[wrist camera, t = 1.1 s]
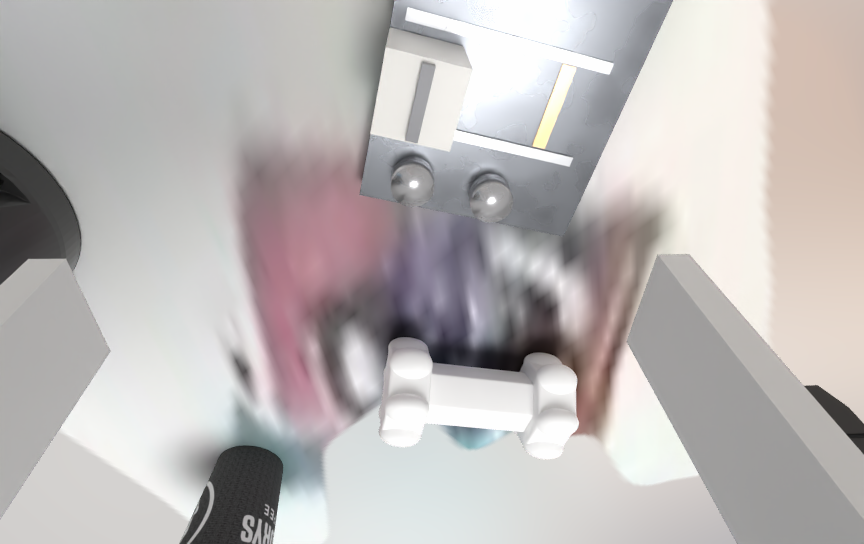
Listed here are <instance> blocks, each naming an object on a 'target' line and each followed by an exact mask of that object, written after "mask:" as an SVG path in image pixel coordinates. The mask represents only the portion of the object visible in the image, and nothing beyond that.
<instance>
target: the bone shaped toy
mask: <svg viewBox="0 0 864 544" xmlns="http://www.w3.org/2000/svg"><path fill="white" fill-rule="evenodd" d="M388 351H389V352H388V357H387V362H386V367H385V368H384V371H383V376H384V384H383V393H382V402H381V406H380V408H379V417H380V423H381V426H380V428H379V435H380V437H381V439H382V440H383V441H384V442H386V443H387V444H390V445H393V446H396V447H409V446H412V445H415V444H416V443H418V442H419V440H420V439H421V436H422V431H423V428H424V425H425V423H431V424H441V425H452V426H463V427H474V428H485V429H495V430H506V431H514V433H515V434H516V435H517V436H518V437H519V439H520V440H521V442H522V444H523V448H524V449H525V451H526V452H527V453H528V454H530V455H531V456H534V457H536V458H540V459H554V458H557V457H559V456H560V455H561V454H562V452H563V449H564V447H563V445H564V444H565V442H566V441H567V440H568V438H569V437H570V435H571V434H572V433H574V432H575V431H576V430H577V428H578V425H579V421H578V418H577V417H576V386H577V377H576V374H575V373H574V371H573V370H572V369H570V368H569V367H567V366H565V365H562V363H561V361H560V360H559V359H558V358H557V357H555V356H553V355H551V354H547V353H541V352H540V353H531V354H529V355H527V356H526V357H525V359H524V363H523V365H522V367H521V369H520V371H519V372H514V371H504V370H495V369H486V368H477V367H468V366H458V365H449V364H440V363H433V362H432V359H431V357H430V355H429V351H428V347H427V345H426V344H425V343H424V342H422V341H421V340H418V339H415V338H411V337H400V338H396V339H394V340H392V341H391V342H390V343H389V345H388Z"/></svg>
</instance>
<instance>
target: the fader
mask: <svg viewBox="0 0 864 544" xmlns="http://www.w3.org/2000/svg"><path fill="white" fill-rule="evenodd" d="M472 71H473V68H472V66H471V63H470V61H469V59H468V56H467V54H466V51H465V49H464V46H460V45H456V44H452V43H449V42H445V41H441V40H437V39H433V38H430V37H426V36H422V35H418V34H414V33H411V32H407V31H403V30H399V29H395V28H392V27H390V29H389V33H388V38H387V43H386V48H385V53H384V59H383V65H382V70H381V76H380V81H379V87H378V93H377V98H376V104H375V109H374V115H373V120H372V126H371V132H370V134H373V135H377V136H382V137H386V138H391V139H395V140H399V141H404V142H408V143H413V144H417V145H422V146H426V147H430V148H435V149H439V150H444V151H448V152H450V150H451V146H452V143H453V139H454V135H455V132H456V128H457V125H458V121H459V118H460V114H461V110H462V107H463V103H464V100H465V96H466V93H467V89H468V85H469V82H470V78H471V75H472Z"/></svg>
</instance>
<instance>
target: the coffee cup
mask: <svg viewBox="0 0 864 544" xmlns="http://www.w3.org/2000/svg"><path fill="white" fill-rule="evenodd" d="M282 473H283V464H282V462H281V460H280V459H279V458H278V457H277V456H276V455H275V454H273V453H272V452H270V451H268V450H265V449H262V448H259V447H253V446H239V447H234V448H231V449H228V450H226V451H225V452H223V453H222V454H221V455H220V457H219V459H218V461H217V463H216V466H215V468H214V470H213V472H212V474H211V476H210V478H209V481H208V483H207V485H206V487H205V489H204V491H203V494H202V496H201V498H200V500H199V502H198V504H197V506H196V509H195V511H194V513H193V515H192V517H191V519H190V522H189V524H188V526H187V528H186V530H185V532H184V535H183V537H182V539H181V541H180V543H179V544H273V537H274V530H275V523H276V516H277V509H278V501H279V494H280V487H281V480H282Z"/></svg>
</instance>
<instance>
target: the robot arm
mask: <svg viewBox="0 0 864 544" xmlns="http://www.w3.org/2000/svg"><path fill="white" fill-rule="evenodd" d="M80 244H81V243H80V232H79V227H78V223H77V220H76V217H75V214H74V212H73V210H72V207H71V205H70V203H69V201H68V200H67V198H66V196H65V195H64V193H63V192H62V190H61V189H60V187H59V186H58V184H57V183H56V182H55V180H54V179H53V178H52V177H51V176H50V174H49V173H48V172H47V171H46V170H45V169H44V168H43V167H42V166H41V164H40V163H39V162H37V161H36V160H35V159H34V158H33V157H32V156H31V155H30V154H29V153H28V152H27V151H25V150H24V149H23V148H22V147H21V146H19V145H18V144H17V143H16V142H14V141H13V140H11V139H10V138H9V137H7V136H6V135H4V134H3V133H1V132H0V519H1V518H2V516H3V514H4V513H5V511H6V510H7V508H8V507H9V505H10V504H11V502H12V501H13V499H14V498H15V496H16V495H17V493H18V492H19V490H20V489H21V487H22V486H23V484H24V482H25V481H26V479H27V478H28V476H29V475H30V473H31V472H32V470H33V469H34V467H35V466H36V464H37V463H38V461H39V460H40V458H41V457H42V455H43V453H44V452H45V450H46V449H47V447H48V446H49V444H50V443H51V441H52V440H53V438H54V437H55V435H56V434H57V432H58V431H59V429H60V428H61V426H62V424H63V423H64V421H65V420H66V418H67V417H68V415H69V414H70V412H71V411H72V409H73V408H74V406H75V405H76V403H77V402H78V400H79V399H80V397H81V395H82V394H83V392H84V391H85V389H86V388H87V386H88V385H89V383H90V382H91V380H92V379H93V377H94V376H95V374H96V373H97V371H98V369H99V368H100V366H101V365H102V363H103V362H104V360H105V359H106V357H107V356H108V354H109V353H110V349H109V347H108V345H107V343H106V341H105V339H104V337H103V335H102V333H101V331H100V329H99V326H98V324H97V322H96V320H95V318H94V316H93V314H92V312H91V310H90V308H89V306H88V304H87V301H86V299H85V297H84V295H83V293H82V291H81V289H80V287H79V285H78V283H77V281H76V279H75V276H74V274H73V272H72V271H73V270H74V268H75V266H76V264H77V261H78V258H79V254H80ZM627 343H628V345H629V347H630V349H631V350H632V352H633V354H634V356H635V358H636V360H637V361H638V363H639V365H640V367H641V369H642V371H643V372H644V374H645V376H646V378H647V380H648V382H649V383H650V385H651V387H652V389H653V391H654V393H655V394H656V396H657V398H658V400H659V402H660V404H661V405H662V407H663V409H664V411H665V413H666V414H667V416H668V418H669V420H670V422H671V424H672V425H673V427H674V429H675V431H676V433H677V435H678V436H679V438H680V440H681V442H682V444H683V446H684V447H685V449H686V451H687V453H688V455H689V457H690V458H691V460H692V462H693V464H694V466H695V468H696V469H697V471H698V473H699V475H700V477H701V479H702V480H703V482H704V484H705V486H706V488H707V490H708V491H709V493H710V495H711V497H712V499H713V501H714V502H715V504H716V506H717V508H718V510H719V511H720V513H721V515H722V517H723V519H724V521H725V523H726V524H727V526H728V528H729V530H730V532H731V534H732V535H733V537H734V539H735V541H736V543H737V544H864V424H863V423H862V421H861V420H860V419H859V418H858V417H857V416H856V415H855V414H854V413H853V412H852V411H851V410H850V408H848V407H847V406H845V404H843V403H842V402H840V401H839V400H837V399H836V398H835V397H833V396H832V395H830V394H829V393H828V392H826V391H825V390H823V389H822V388H821V387H819V386H817V385H815V386H804V385H802V383H801V382H800V381H799V380H798V379H797V377H796V376H795V375H794V374H793V373H792V372H791V371H790V369H789V368H788V367H787V366H786V365H785V364H784V363H783V362H782V360H781V359H780V358H779V357H778V356H777V355H776V353H775V352H774V351H773V350H772V349H771V348H770V346H769V345H768V344H767V343H766V342H765V341H764V340H763V338H762V337H761V336H760V335H759V334H758V333H757V332H756V330H755V329H754V328H753V327H752V326H751V325H750V324H749V322H748V321H747V320H746V319H745V318H744V317H743V316H742V314H741V313H740V312H739V311H738V310H737V309H736V307H735V306H734V305H733V304H732V303H731V302H730V301H729V299H728V298H727V297H726V296H725V295H724V294H723V293H722V291H721V290H720V289H719V288H718V287H717V286H716V285H715V283H714V282H713V281H712V280H711V279H710V278H709V277H708V275H707V274H706V273H705V272H704V271H703V270H702V268H701V267H700V266H699V265H698V264H697V263H696V262H695V260H694V259H693V258H692V257H691V256H690V255H689V254H676V255H657V258H656V260H655V263H654V266H653V269H652V272H651V274H650V277H649V280H648V283H647V286H646V288H645V291H644V294H643V297H642V300H641V302H640V305H639V308H638V311H637V314H636V316H635V319H634V322H633V325H632V328H631V330H630V333H629V336H628V339H627Z"/></svg>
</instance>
